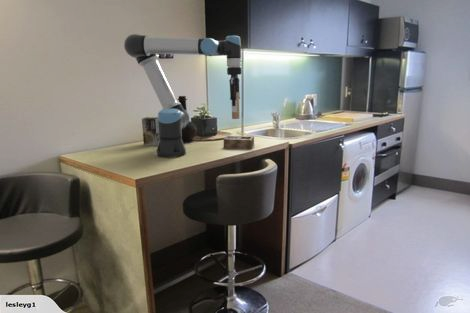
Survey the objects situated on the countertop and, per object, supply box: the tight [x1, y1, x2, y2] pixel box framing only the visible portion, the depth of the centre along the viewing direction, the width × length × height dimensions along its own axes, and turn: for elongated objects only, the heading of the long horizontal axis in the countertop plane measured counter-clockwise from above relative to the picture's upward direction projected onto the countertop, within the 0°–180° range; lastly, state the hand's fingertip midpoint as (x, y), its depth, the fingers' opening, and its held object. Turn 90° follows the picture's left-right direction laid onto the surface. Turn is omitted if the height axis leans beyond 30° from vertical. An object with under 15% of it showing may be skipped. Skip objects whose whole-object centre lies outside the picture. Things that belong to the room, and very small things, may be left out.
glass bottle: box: [176, 95, 198, 143], centre depth 215 cm, size 18×18×28 cm
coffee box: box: [141, 116, 159, 147], centre depth 205 cm, size 9×6×16 cm
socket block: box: [223, 134, 255, 150], centre depth 201 cm, size 16×12×5 cm
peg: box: [231, 91, 240, 120], centre depth 185 cm, size 4×4×14 cm
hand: (235, 111), depth 186 cm, fingers closed on peg, 4 cm apart
